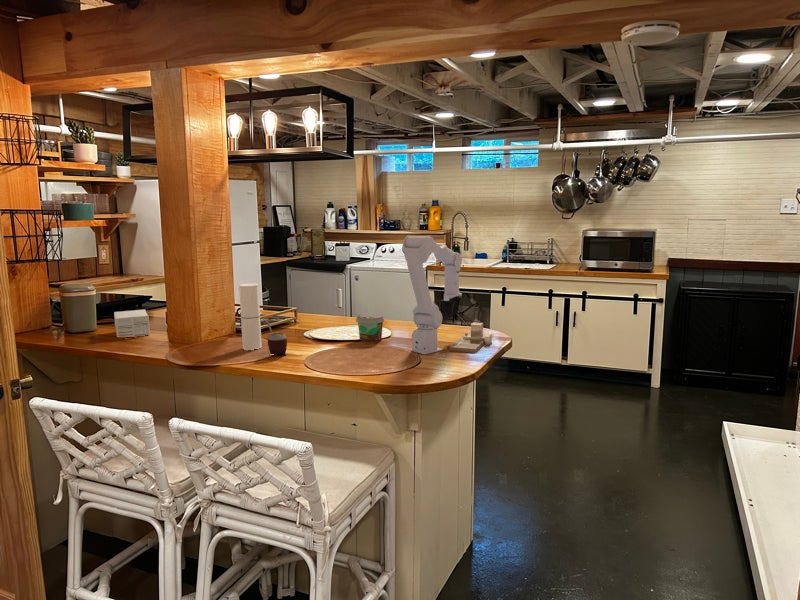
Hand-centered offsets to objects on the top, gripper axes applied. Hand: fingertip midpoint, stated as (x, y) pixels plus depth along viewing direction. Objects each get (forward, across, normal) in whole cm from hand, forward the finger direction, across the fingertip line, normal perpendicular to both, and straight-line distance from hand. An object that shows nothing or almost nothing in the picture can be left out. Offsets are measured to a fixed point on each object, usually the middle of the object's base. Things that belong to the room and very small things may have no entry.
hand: (451, 316), depth 233 cm
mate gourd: (+11, -44, +54) cm, 70 cm away
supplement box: (+11, -33, +136) cm, 140 cm away
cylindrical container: (+11, -37, +70) cm, 80 cm away
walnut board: (+10, -5, -9) cm, 15 cm away
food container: (+11, -11, +32) cm, 36 cm away
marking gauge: (+10, +1, -10) cm, 14 cm away
